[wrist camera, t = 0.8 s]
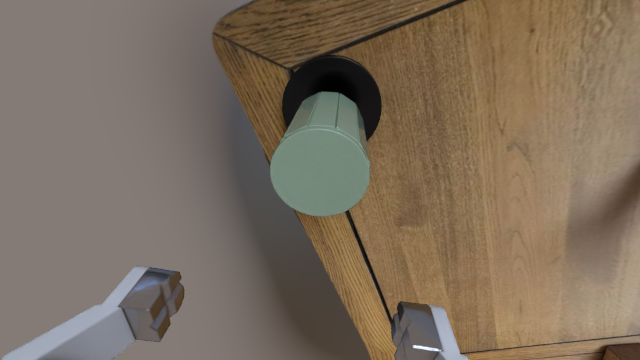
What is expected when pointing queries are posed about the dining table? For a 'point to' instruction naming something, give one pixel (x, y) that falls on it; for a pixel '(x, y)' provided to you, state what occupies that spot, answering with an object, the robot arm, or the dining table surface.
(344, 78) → the holder
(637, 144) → the dining table surface
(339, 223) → the dining table surface
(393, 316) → the robot arm
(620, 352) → the bread
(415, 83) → the dining table surface
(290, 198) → the green fluted cylinder
